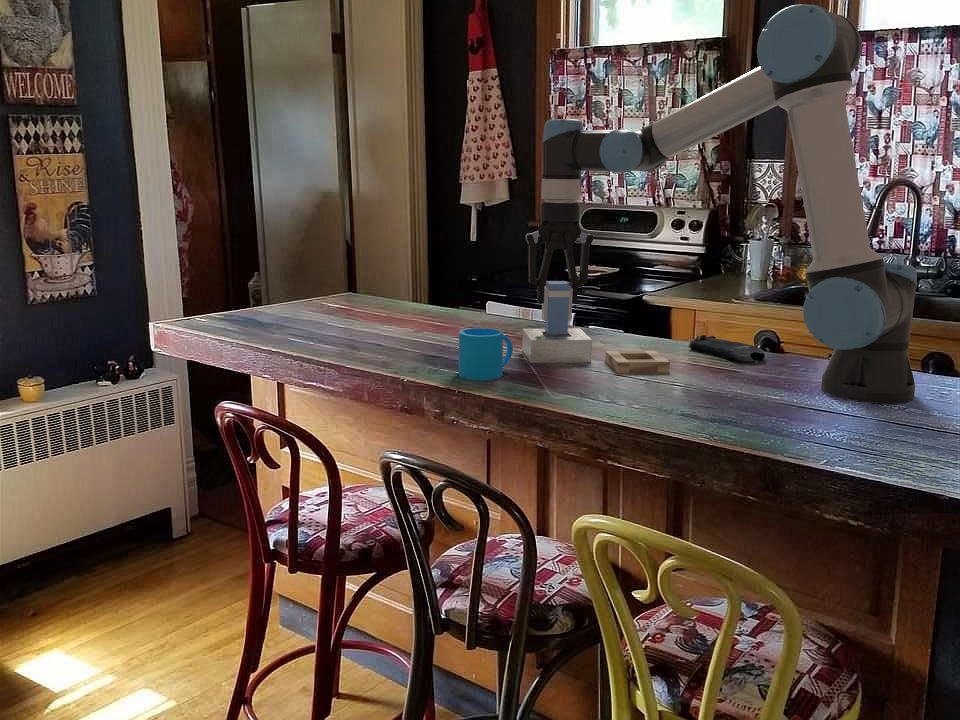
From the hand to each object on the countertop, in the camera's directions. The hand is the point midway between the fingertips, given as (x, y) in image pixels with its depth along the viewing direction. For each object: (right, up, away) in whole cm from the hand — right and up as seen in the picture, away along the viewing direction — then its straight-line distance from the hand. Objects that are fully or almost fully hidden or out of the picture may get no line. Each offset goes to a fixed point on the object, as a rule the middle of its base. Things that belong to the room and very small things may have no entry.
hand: (556, 319), depth 183 cm
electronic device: (+36, -8, +6) cm, 38 cm away
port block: (0, -8, +2) cm, 8 cm away
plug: (0, -3, +1) cm, 3 cm away
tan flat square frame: (+15, -10, -7) cm, 19 cm away
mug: (-14, -11, -11) cm, 21 cm away
